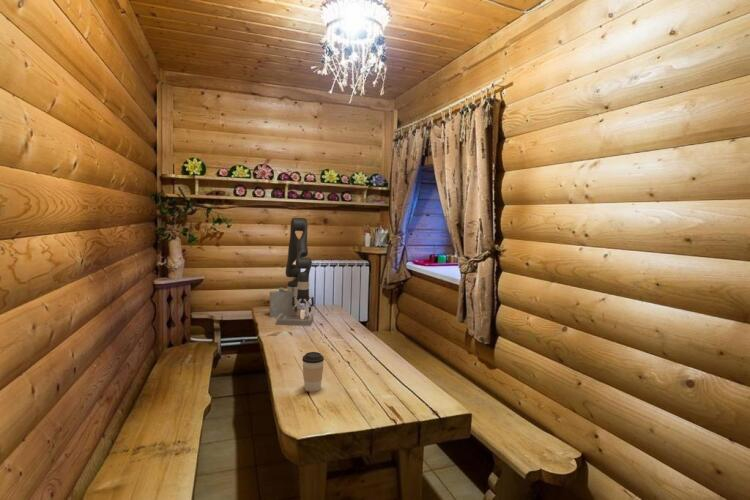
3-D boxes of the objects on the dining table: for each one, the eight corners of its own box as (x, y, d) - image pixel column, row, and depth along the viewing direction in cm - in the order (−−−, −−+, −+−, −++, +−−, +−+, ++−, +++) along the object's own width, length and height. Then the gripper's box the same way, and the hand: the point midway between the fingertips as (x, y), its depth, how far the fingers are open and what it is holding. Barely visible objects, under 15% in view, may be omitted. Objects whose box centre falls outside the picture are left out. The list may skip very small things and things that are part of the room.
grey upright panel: (269, 317, 286) (270, 288, 284) (269, 316, 290) (269, 287, 288) (293, 316, 291) (293, 288, 290) (292, 314, 295) (292, 287, 293)
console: (280, 319, 281) (280, 313, 280) (313, 320, 281) (313, 314, 280) (276, 324, 269) (276, 317, 268) (310, 325, 269) (310, 319, 268)
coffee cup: (313, 381, 181) (314, 348, 180) (327, 387, 176) (328, 353, 174) (297, 388, 174) (297, 353, 173) (311, 394, 169) (312, 359, 167)
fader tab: (301, 316, 277) (301, 309, 276) (305, 316, 277) (305, 309, 276) (300, 318, 272) (300, 311, 271) (304, 318, 272) (304, 311, 271)
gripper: (314, 287, 276) (314, 311, 278) (293, 286, 276) (293, 310, 278) (313, 289, 269) (312, 314, 270) (291, 288, 269) (290, 313, 271)
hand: (302, 312), depth 274 cm, fingers open, 8 cm apart
